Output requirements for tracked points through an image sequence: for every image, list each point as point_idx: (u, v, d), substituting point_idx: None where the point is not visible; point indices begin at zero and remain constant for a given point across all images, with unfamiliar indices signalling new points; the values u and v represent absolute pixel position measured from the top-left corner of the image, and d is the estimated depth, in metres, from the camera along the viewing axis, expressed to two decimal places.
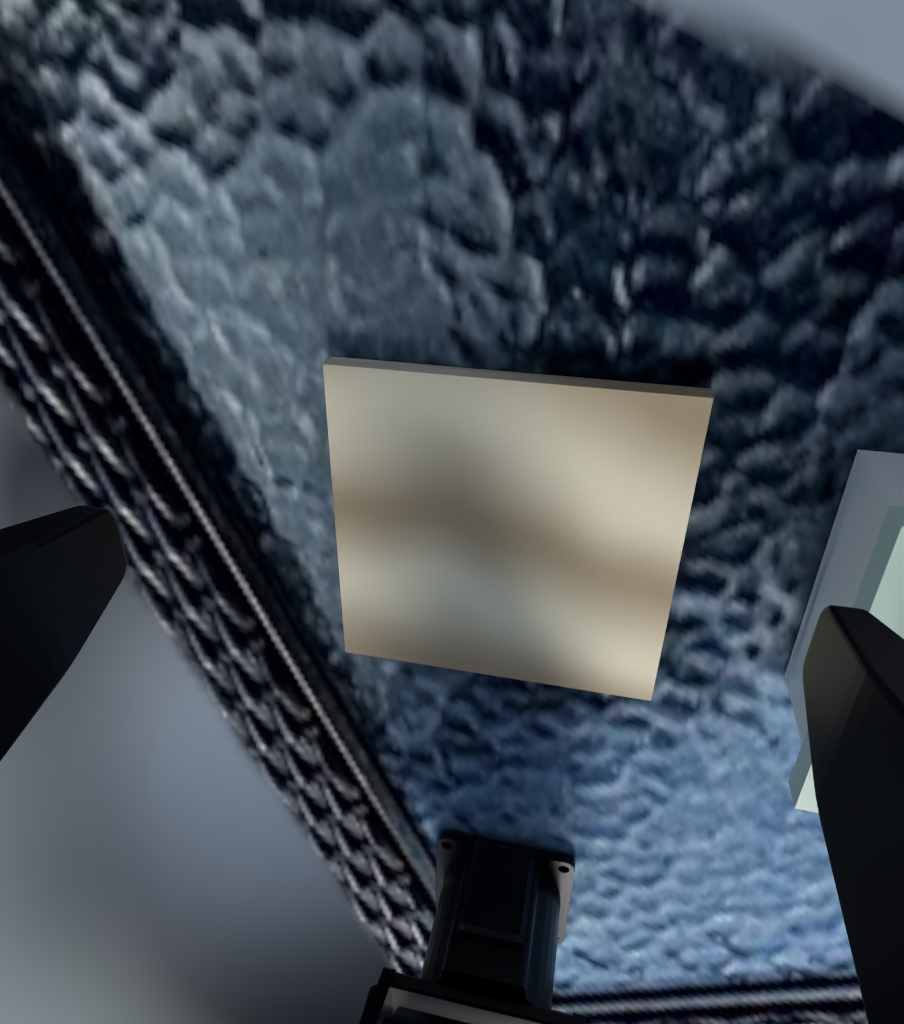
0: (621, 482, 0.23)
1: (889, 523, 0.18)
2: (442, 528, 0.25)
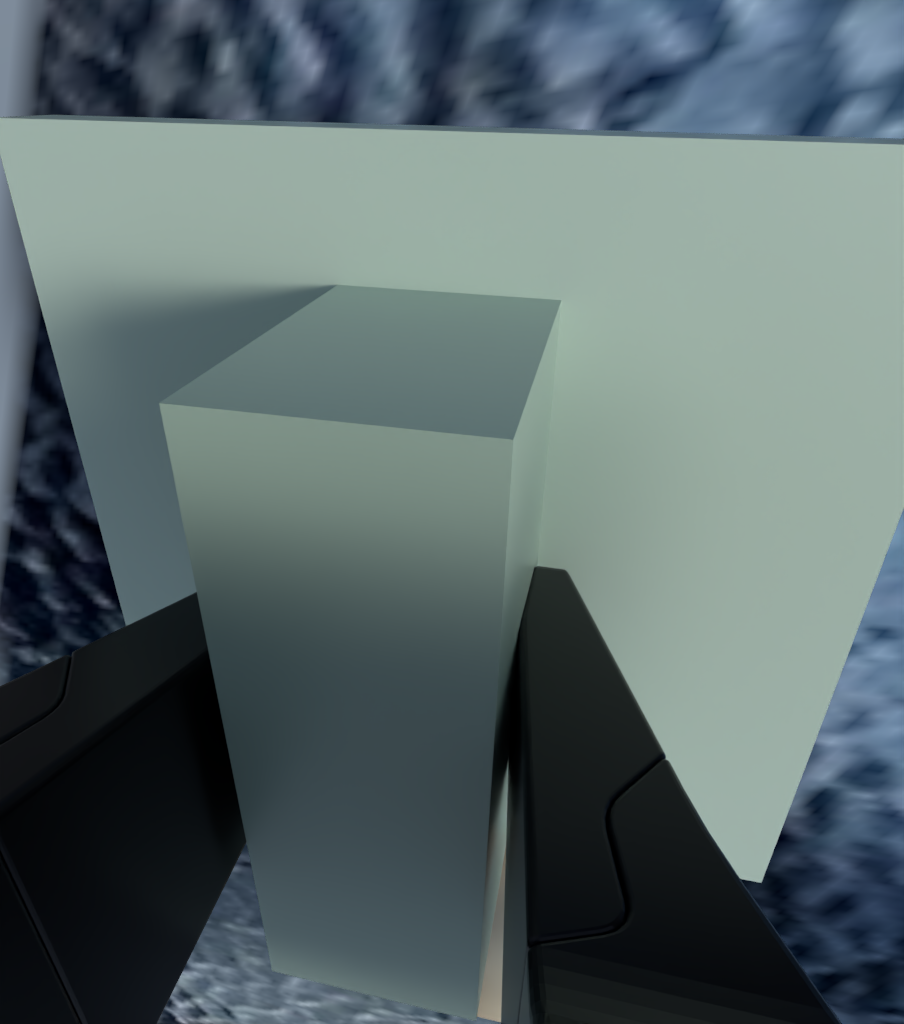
0: None
1: None
2: None
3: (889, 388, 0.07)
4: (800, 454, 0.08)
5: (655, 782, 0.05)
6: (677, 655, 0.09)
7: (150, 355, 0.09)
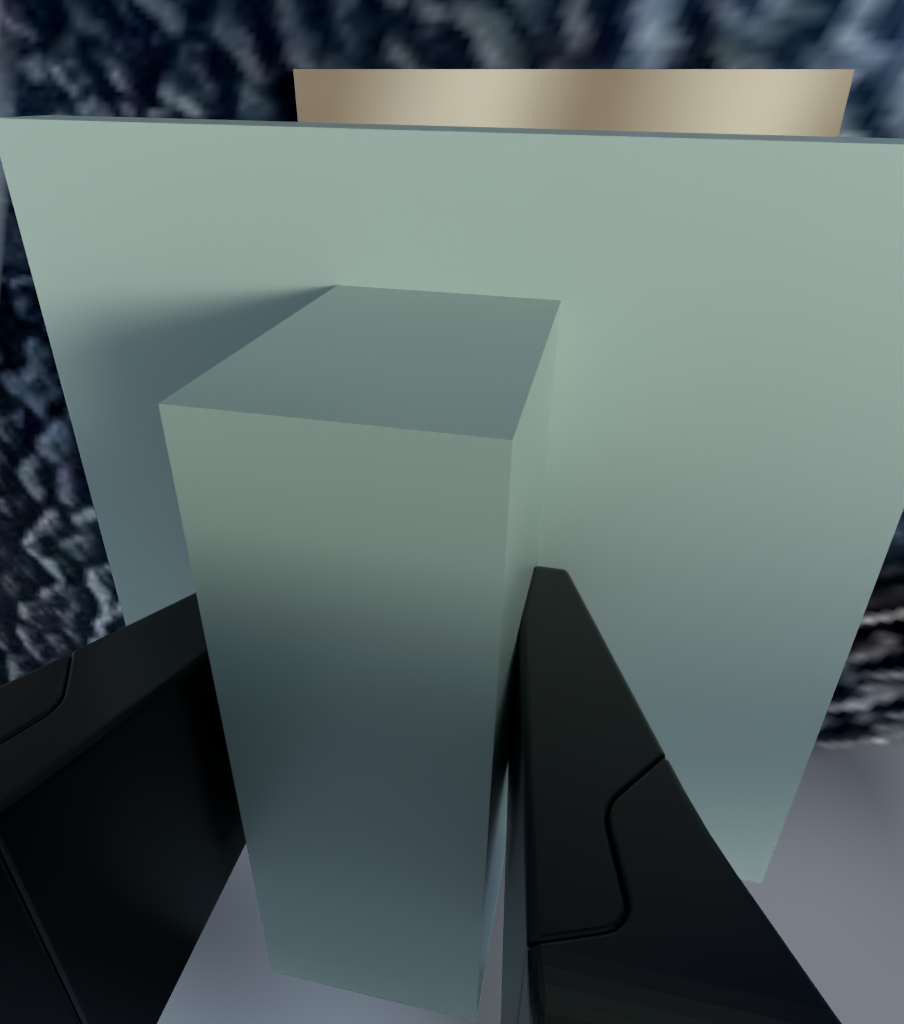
0: None
1: None
2: None
3: (888, 388, 0.07)
4: (800, 454, 0.08)
5: (655, 782, 0.05)
6: (677, 656, 0.09)
7: (150, 355, 0.09)
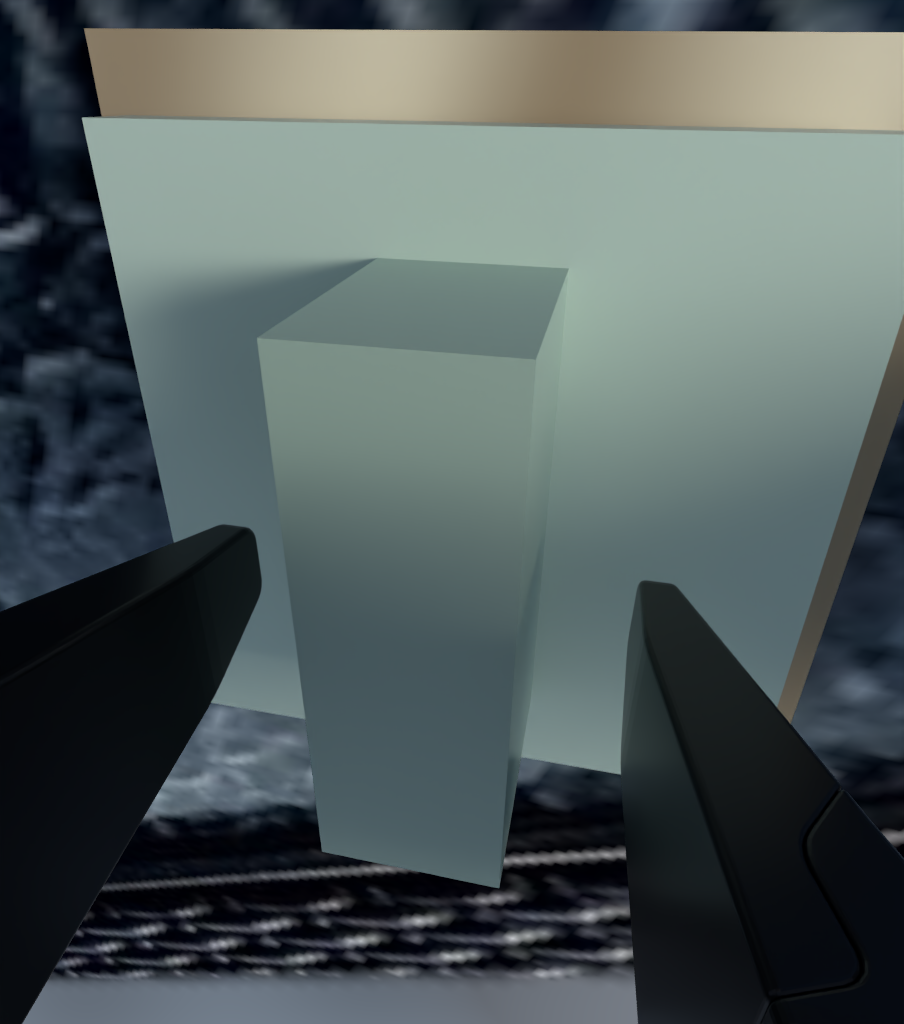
0: None
1: None
2: None
3: (845, 339, 0.09)
4: (773, 399, 0.09)
5: (842, 816, 0.05)
6: (671, 583, 0.11)
7: (212, 322, 0.10)
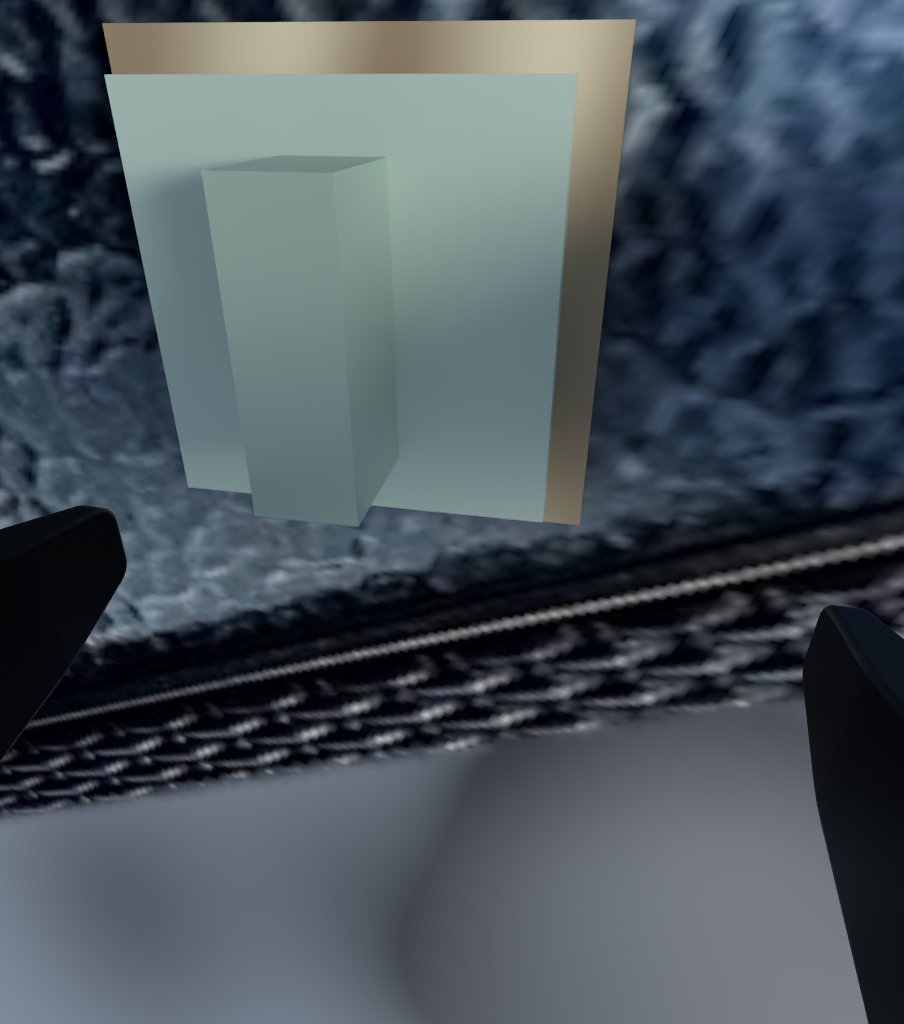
0: None
1: None
2: None
3: (541, 193, 0.15)
4: (510, 233, 0.16)
5: None
6: (472, 363, 0.17)
7: (183, 201, 0.17)
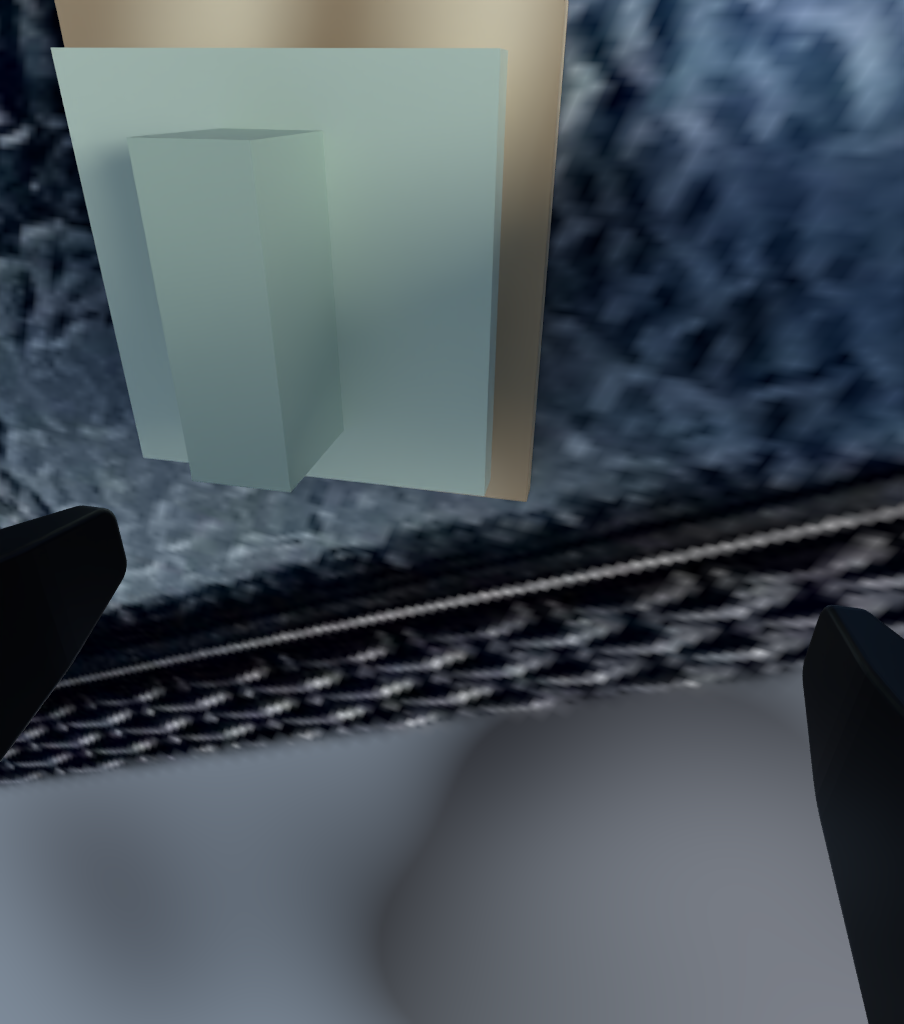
0: None
1: None
2: None
3: (471, 167, 0.15)
4: (442, 207, 0.16)
5: None
6: (410, 336, 0.18)
7: (130, 173, 0.17)
